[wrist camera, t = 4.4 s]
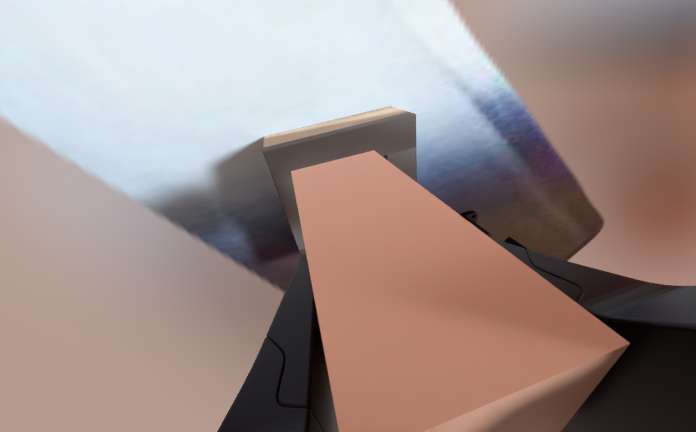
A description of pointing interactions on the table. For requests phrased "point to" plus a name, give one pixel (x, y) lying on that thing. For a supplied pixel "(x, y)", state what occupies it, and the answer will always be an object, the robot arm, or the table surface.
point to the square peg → (436, 313)
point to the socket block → (339, 150)
